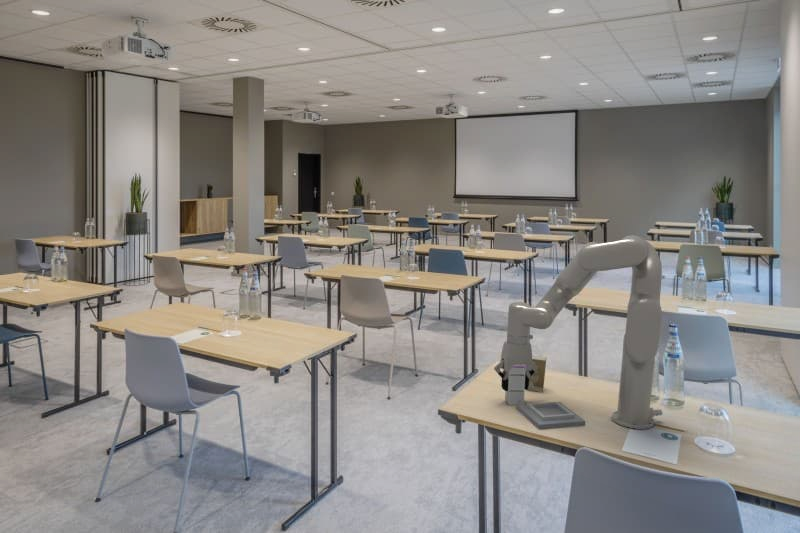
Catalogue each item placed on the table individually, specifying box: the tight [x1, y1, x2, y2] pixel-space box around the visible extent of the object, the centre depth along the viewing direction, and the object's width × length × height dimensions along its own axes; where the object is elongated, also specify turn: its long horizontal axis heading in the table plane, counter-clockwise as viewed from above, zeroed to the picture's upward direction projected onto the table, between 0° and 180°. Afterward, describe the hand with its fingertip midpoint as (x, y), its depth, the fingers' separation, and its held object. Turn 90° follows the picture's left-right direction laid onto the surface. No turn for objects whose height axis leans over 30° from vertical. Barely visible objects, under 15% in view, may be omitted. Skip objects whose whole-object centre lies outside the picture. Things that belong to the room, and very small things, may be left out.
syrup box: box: [504, 364, 526, 406], centre depth 200 cm, size 6×6×14 cm
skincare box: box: [527, 354, 547, 393], centre depth 213 cm, size 6×4×12 cm
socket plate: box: [515, 401, 587, 430], centre depth 189 cm, size 16×16×3 cm
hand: (514, 388), depth 201 cm, fingers closed on syrup box, 6 cm apart
